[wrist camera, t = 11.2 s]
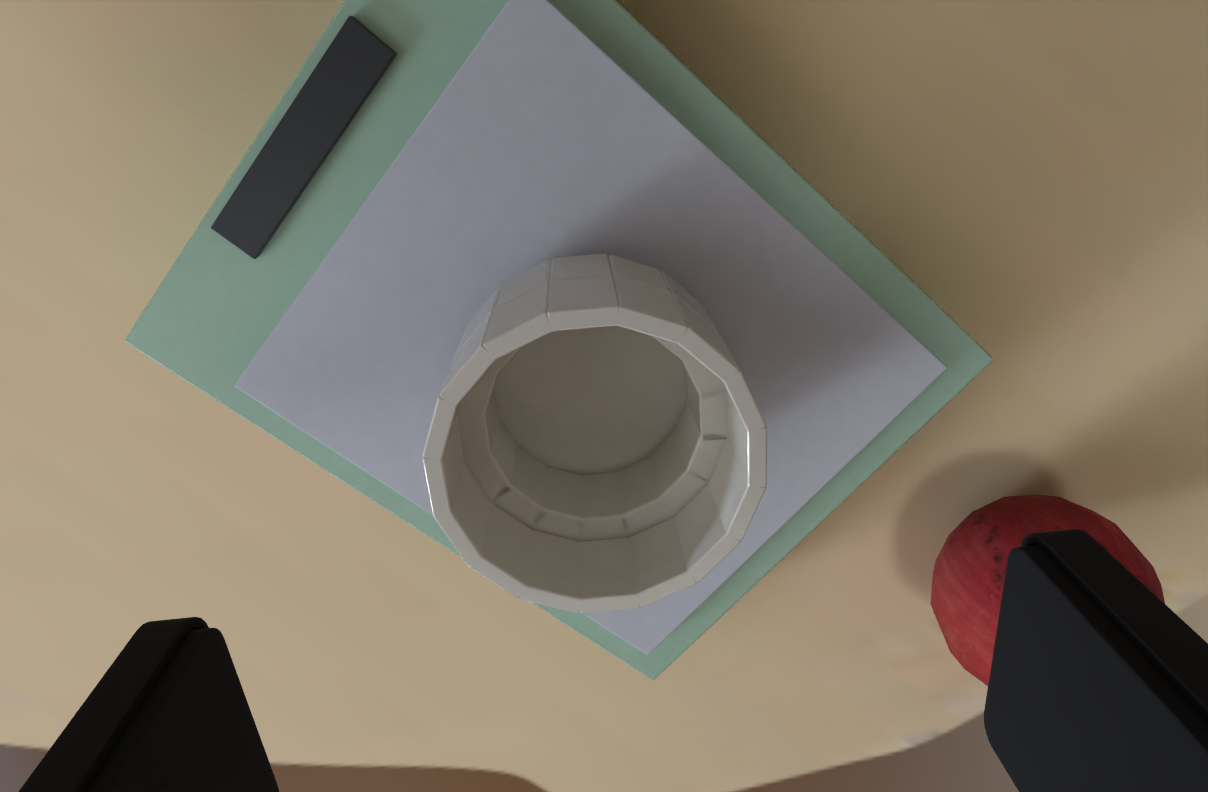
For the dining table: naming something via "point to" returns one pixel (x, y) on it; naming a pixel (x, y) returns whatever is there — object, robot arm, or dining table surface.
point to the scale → (525, 239)
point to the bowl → (594, 438)
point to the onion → (980, 559)
